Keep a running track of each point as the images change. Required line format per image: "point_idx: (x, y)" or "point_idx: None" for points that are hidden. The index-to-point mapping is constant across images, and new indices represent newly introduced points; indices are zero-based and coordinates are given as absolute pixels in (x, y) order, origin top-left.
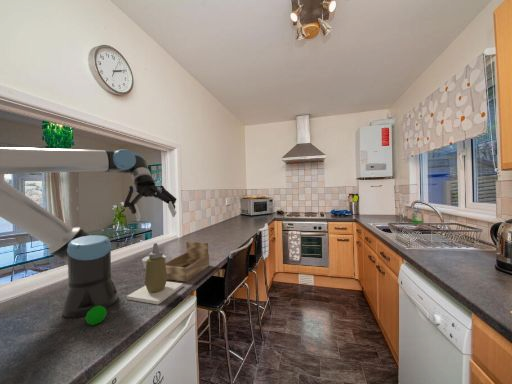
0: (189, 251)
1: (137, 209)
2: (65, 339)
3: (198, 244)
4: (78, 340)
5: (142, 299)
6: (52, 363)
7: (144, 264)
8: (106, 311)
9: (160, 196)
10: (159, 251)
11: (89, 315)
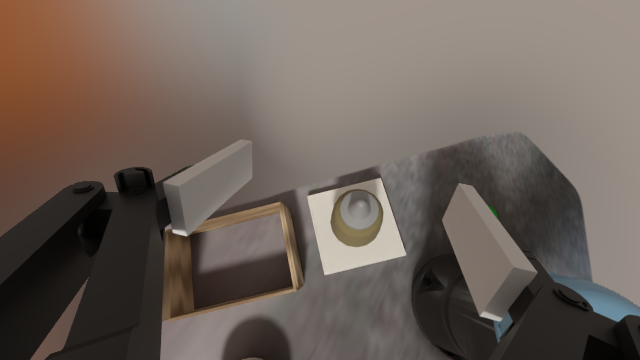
0: (166, 306)
1: (491, 221)
2: (516, 215)
3: None
4: (502, 194)
5: (392, 213)
6: (534, 173)
7: None
8: None
9: (151, 300)
10: (345, 208)
11: (495, 211)
